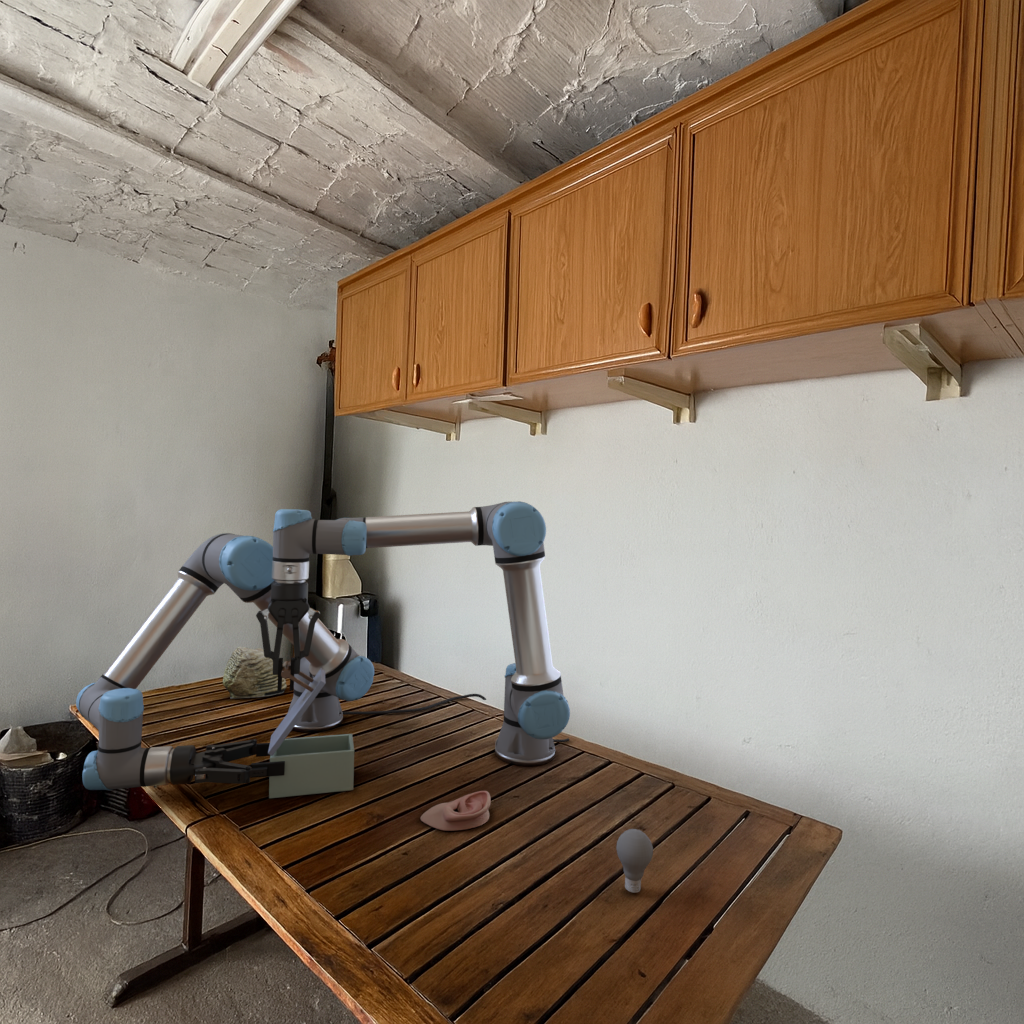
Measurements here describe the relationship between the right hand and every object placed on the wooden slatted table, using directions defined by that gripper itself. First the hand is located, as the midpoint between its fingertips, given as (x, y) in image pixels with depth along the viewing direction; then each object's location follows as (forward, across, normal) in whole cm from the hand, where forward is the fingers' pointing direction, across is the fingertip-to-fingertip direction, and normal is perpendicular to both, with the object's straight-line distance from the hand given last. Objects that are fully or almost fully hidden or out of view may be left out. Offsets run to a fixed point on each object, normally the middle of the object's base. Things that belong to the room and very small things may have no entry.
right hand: (285, 688), depth 137 cm
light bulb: (+21, +58, -51) cm, 80 cm away
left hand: (+15, +1, 0) cm, 15 cm away
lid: (+5, +3, 0) cm, 6 cm away
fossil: (+21, -12, +67) cm, 71 cm away
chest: (+21, +6, 0) cm, 22 cm away
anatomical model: (+21, +34, -21) cm, 45 cm away
